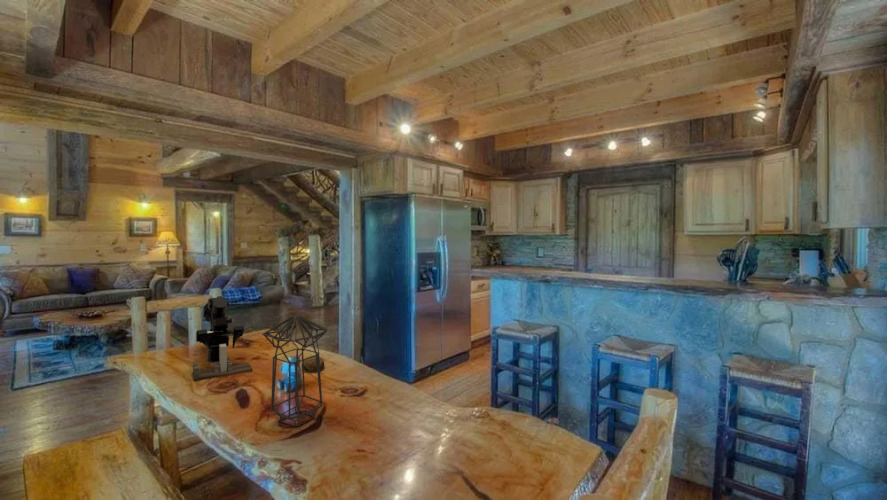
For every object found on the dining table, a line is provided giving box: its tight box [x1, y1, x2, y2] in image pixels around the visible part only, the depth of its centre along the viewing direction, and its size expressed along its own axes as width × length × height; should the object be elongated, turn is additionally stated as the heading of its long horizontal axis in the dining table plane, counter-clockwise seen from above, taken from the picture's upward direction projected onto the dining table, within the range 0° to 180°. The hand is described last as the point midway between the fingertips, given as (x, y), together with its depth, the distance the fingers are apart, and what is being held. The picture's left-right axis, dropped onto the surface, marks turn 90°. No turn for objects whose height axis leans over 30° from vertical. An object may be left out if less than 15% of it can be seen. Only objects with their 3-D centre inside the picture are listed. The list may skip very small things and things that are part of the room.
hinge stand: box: [192, 359, 253, 382], centre depth 172 cm, size 11×22×5 cm, turn 126°
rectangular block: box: [218, 344, 230, 372], centre depth 172 cm, size 5×3×11 cm, turn 35°
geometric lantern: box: [261, 314, 329, 428], centre depth 127 cm, size 16×16×35 cm
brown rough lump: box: [301, 355, 325, 373], centre depth 177 cm, size 10×10×8 cm
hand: (221, 349), depth 174 cm, fingers open, 9 cm apart
